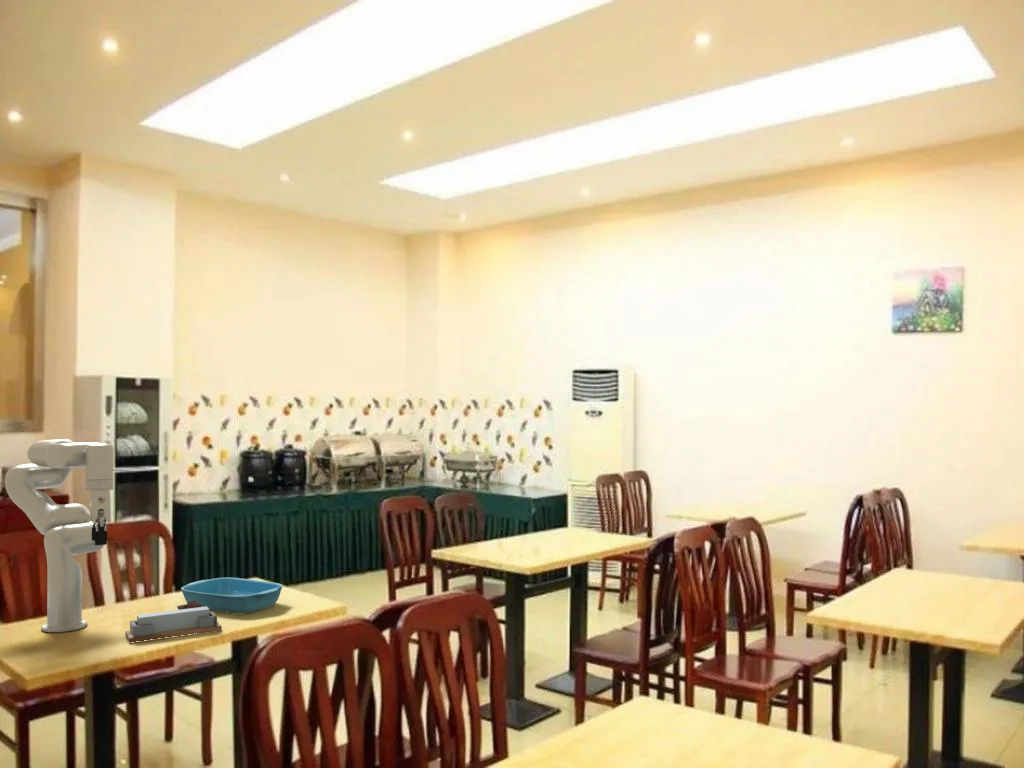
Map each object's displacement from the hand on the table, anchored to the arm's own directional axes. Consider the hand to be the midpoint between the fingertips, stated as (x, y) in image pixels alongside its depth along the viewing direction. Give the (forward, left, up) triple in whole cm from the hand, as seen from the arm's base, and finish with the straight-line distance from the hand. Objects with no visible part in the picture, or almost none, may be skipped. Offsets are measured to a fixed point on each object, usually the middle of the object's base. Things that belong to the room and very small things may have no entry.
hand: (99, 542), depth 255 cm
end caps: (+7, +20, -27) cm, 34 cm away
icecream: (-4, +27, -29) cm, 40 cm away
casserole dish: (-20, +43, -29) cm, 56 cm away
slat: (+7, +20, -27) cm, 34 cm away
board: (+7, +20, -28) cm, 35 cm away
